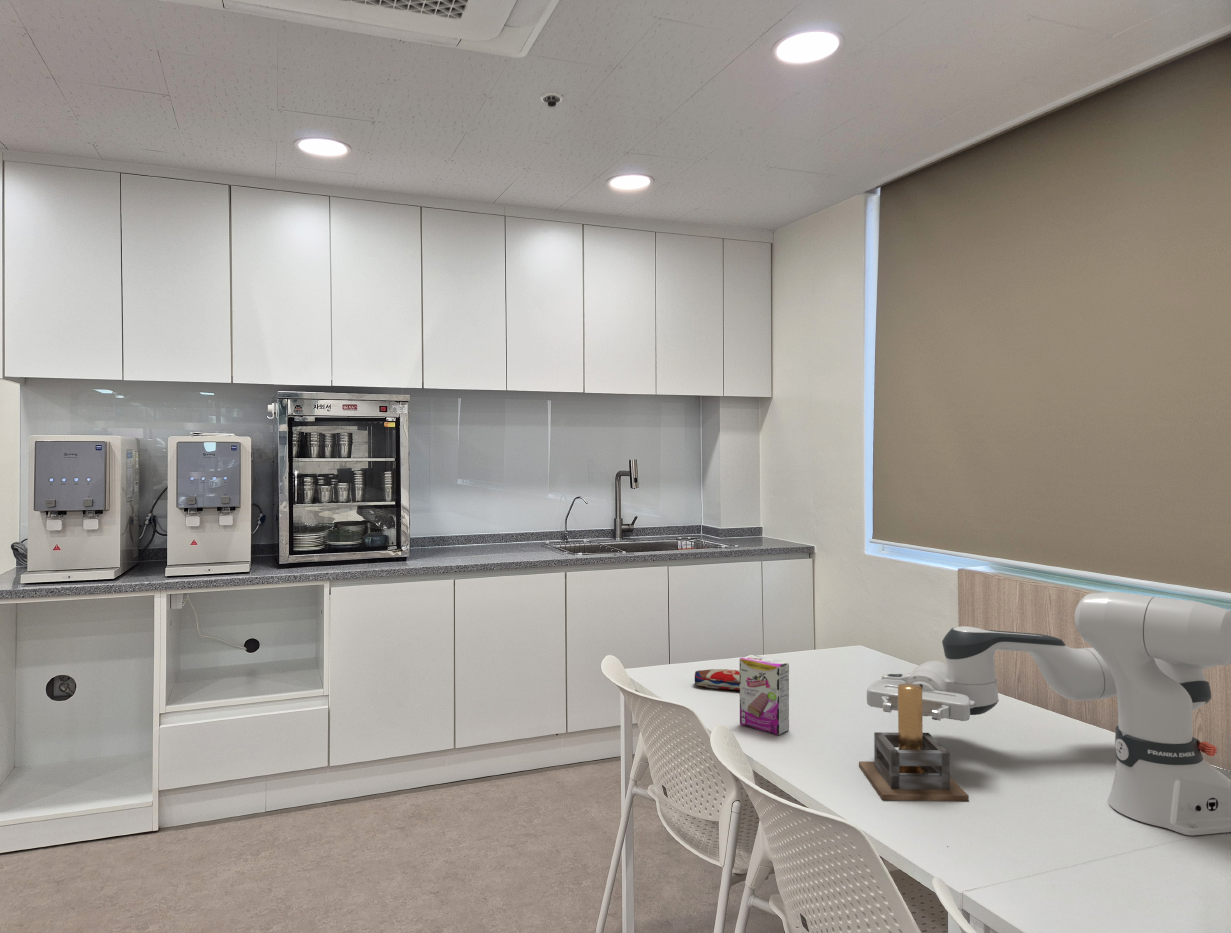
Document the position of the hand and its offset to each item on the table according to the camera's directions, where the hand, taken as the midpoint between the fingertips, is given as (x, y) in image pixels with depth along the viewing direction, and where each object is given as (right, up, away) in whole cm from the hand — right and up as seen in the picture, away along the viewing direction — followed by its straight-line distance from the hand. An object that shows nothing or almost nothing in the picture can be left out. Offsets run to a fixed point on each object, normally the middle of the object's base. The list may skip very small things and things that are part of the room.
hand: (910, 712), depth 155 cm
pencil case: (-28, -13, +62) cm, 69 cm away
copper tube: (-1, -12, -2) cm, 12 cm away
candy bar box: (-24, -13, +29) cm, 40 cm away
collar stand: (-1, -13, -2) cm, 13 cm away
